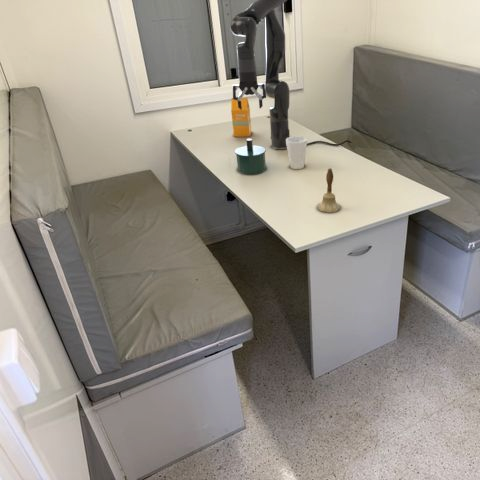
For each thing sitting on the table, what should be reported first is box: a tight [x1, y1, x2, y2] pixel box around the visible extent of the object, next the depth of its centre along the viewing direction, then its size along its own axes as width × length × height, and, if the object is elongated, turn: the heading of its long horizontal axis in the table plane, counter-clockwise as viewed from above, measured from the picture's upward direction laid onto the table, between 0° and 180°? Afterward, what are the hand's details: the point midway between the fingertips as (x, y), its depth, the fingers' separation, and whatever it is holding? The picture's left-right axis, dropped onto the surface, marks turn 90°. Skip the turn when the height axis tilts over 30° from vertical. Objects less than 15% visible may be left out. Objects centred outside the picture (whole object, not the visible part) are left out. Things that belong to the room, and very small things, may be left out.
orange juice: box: [230, 97, 253, 137], centre depth 237 cm, size 8×9×20 cm
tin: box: [236, 152, 267, 176], centre depth 196 cm, size 13×13×8 cm
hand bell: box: [317, 168, 340, 214], centre depth 161 cm, size 8×8×16 cm
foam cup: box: [286, 135, 308, 170], centre depth 198 cm, size 10×9×13 cm
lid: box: [234, 138, 266, 157], centre depth 193 cm, size 14×14×6 cm
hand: (250, 108), depth 190 cm, fingers open, 8 cm apart
